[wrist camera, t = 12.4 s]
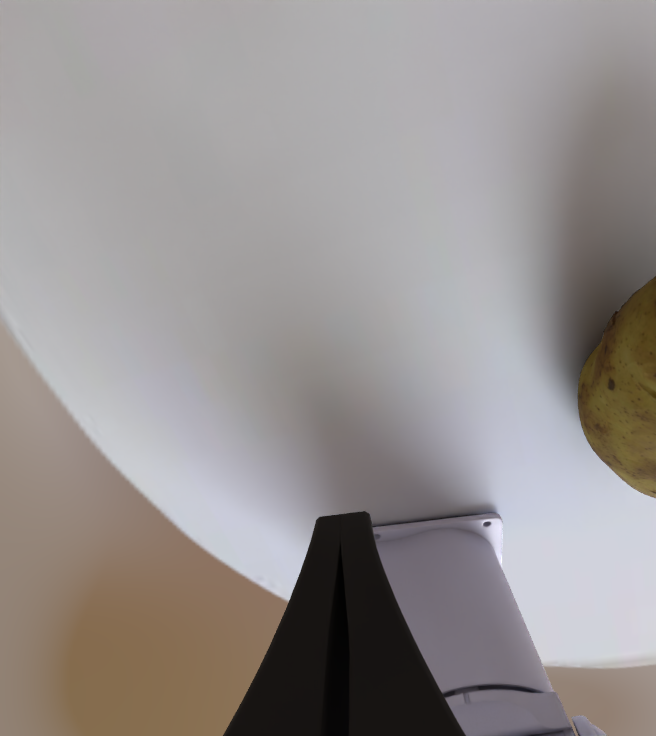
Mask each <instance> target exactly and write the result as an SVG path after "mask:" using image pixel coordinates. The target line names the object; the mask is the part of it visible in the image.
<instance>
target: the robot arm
mask: <svg viewBox="0 0 656 736" xmlns="http://www.w3.org/2000/svg"><path fill="white" fill-rule="evenodd" d="M502 527H503V521H502V518H501V516H500V515H499V514H497V513H489V514H480V515H472V516H464V517H455V518H447V519H439V520H430V521H422V522H413V523H405V524H397V525H388V526H380V527H372V523H371V518H370V514H369V513H367V512H365V511H363V512H355V513H347V514H339V515H331V516H323V517H319V518H318V519H317V520H316V524H315V528H314V531H313V535H312V538H311V542H310V545H309V548H308V551H307V554H306V557H305V560H304V563H303V566H302V569H301V572H300V574H299V577H298V580H297V582H296V585H295V587H294V590H293V593H292V595H291V598H290V600H289V603H288V605H287V608H286V610H285V612H284V615H283V617H282V619H281V622H280V624H279V626H278V629H277V631H276V633H275V635H274V638H273V640H272V642H271V645H270V647H269V649H268V651H267V653H266V655H265V657H264V659H263V661H262V663H261V665H260V668H259V669H258V672H257V674H256V676H255V678H254V679H253V681H252V683H251V685H250V687H249V689H248V691H247V693H246V695H245V697H244V699H243V701H242V703H241V704H240V706H239V708H238V710H237V712H236V713H235V715H234V717H233V719H232V721H231V722H230V724H229V726H228V728H227V730H226V731H225V733H224V735H223V736H575V734H574V731H573V729H572V727H571V724H570V722H569V720H568V718H567V715H566V713H565V710H564V708H563V706H562V703H561V701H560V699H559V696H558V694H557V693H556V692H554V691H553V688H552V686H551V684H550V681H549V679H548V676H547V674H546V672H545V669H544V667H543V664H542V662H541V660H540V657H539V655H538V653H537V650H536V648H535V646H534V643H533V641H532V638H531V636H530V634H529V631H528V629H527V627H526V624H525V622H524V619H523V617H522V615H521V612H520V610H519V608H518V605H517V603H516V600H515V598H514V596H513V593H512V591H511V589H510V586H509V584H508V582H507V579H506V577H505V574H504V572H503V570H502ZM572 720H573V723H574V726H575V728H576V731H577V733H578V735H579V736H607V735H606V734H605V733H604V732H603V731H602V730H601V729H599V728H598V727H596V726H595V725H593V724H591V723H590V722H589V720H588V719H587V718H586V717H585V716H582V715H580V716H574V717H572Z"/></svg>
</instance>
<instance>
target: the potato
mask: <svg viewBox="0 0 656 736" xmlns="http://www.w3.org/2000/svg"><path fill="white" fill-rule="evenodd" d="M578 409H579V416H580V420H581V425H582V428H583V431H584V434H585V436H586V438H587V441H588V442H589V444H590V446H591V448H592V449H593V451H594V452H595V453H596V454H597V455H598V456H599V458H600V459H601V460H602V461H603V462H604V463H605V464H606V465H608V466H609V467H610V468H611V469H612V470H613V471H614V472H615V473H616V474H617V475H618V476H619V477H620V478H621V479H622V480H623V481H625V482H626V483H627V484H628V485H630V486H631V487H632V488H634V489H636V490H637V491H639V492H641V493H643V494H645V495H648V496H651V497H654V498H656V276H655V277H654V278H653V279H652V280H650V281H649V282H648V283H647V284H646V285H644V286H643V287H642V288H641V289H639V290H638V291H636V292H635V293H634V294H633V295H632V296H631V297H630V298H629V300H628V301H627V302H626V303H625V304H624V305H623V306H622V307H621V309H620V310H619V311H615V313H614V314H613V316H612V318H611V319H610V321H609V322H608V325H607V327H606V329H605V330H604V335H603V338H602V340H601V343H600V344H599V345H598V346H597V347H596V349H595V350H594V351H593V352H592V353H591V355H590V356H589V357H588V359H587V360H586V362H585V364H584V366H583V369H582V371H581V375H580V378H579V384H578Z"/></svg>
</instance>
